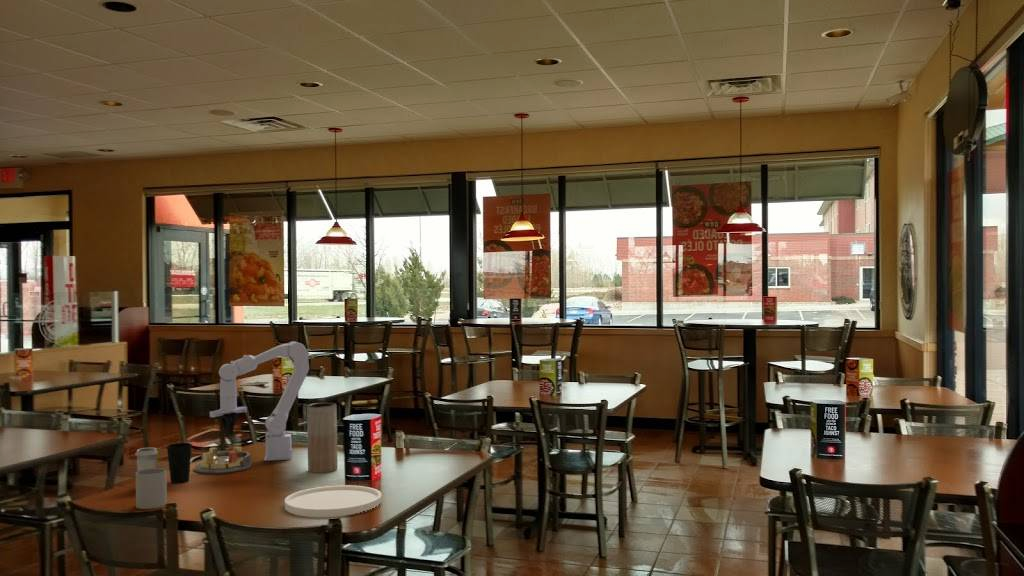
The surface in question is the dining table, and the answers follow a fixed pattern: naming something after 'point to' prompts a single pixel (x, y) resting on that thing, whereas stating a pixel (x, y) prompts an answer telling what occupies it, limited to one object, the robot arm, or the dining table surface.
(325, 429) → the planter
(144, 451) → the cup
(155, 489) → the cup
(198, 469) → the round serving tray
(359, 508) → the plate
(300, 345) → the robot arm
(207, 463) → the ring nut
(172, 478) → the cup
